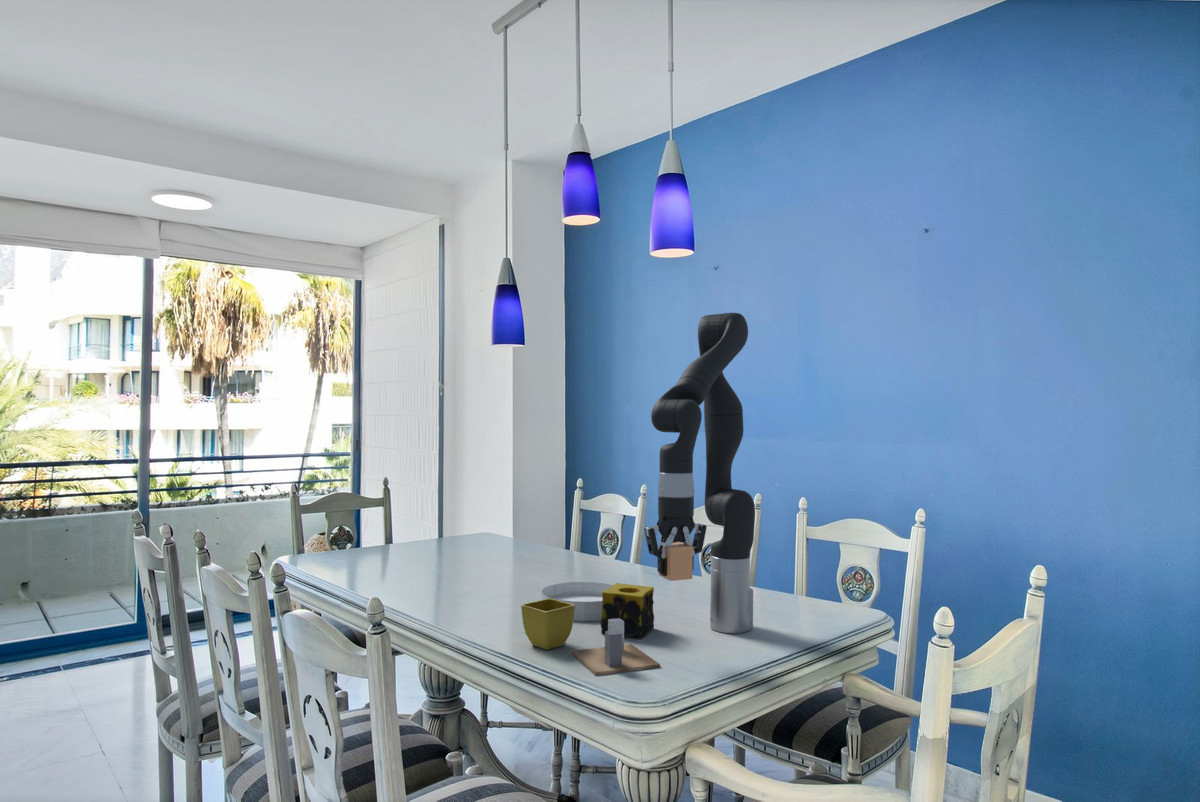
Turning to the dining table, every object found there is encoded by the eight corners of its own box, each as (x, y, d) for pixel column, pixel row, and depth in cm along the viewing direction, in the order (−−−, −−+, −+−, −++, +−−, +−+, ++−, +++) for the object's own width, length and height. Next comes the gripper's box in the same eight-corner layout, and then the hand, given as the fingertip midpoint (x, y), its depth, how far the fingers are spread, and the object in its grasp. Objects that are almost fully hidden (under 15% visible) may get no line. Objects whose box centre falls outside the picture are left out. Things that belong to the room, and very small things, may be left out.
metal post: (619, 648, 160) (619, 618, 160) (623, 651, 157) (624, 621, 158) (607, 649, 159) (608, 619, 159) (612, 653, 156) (612, 622, 157)
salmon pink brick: (680, 573, 160) (680, 542, 160) (692, 578, 155) (692, 546, 156) (658, 575, 158) (659, 543, 158) (670, 580, 154) (670, 547, 154)
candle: (615, 623, 181) (615, 582, 181) (654, 628, 177) (655, 586, 178) (599, 635, 172) (600, 591, 172) (641, 640, 168) (641, 595, 168)
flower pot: (519, 645, 163) (519, 604, 163) (549, 637, 169) (550, 597, 169) (545, 654, 157) (545, 611, 157) (575, 646, 163) (576, 604, 163)
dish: (617, 625, 181) (617, 604, 181) (529, 619, 185) (529, 598, 185) (631, 602, 202) (631, 584, 203) (553, 597, 207) (553, 579, 207)
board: (631, 646, 163) (631, 644, 163) (660, 667, 150) (660, 664, 150) (571, 653, 158) (571, 650, 158) (595, 675, 145) (595, 672, 145)
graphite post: (616, 661, 151) (616, 630, 151) (621, 665, 149) (621, 633, 149) (604, 663, 150) (605, 631, 150) (609, 667, 148) (609, 634, 148)
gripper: (697, 491, 163) (696, 568, 163) (637, 493, 158) (637, 573, 158) (714, 494, 156) (714, 575, 156) (653, 497, 151) (652, 581, 151)
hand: (675, 574), depth 157 cm, fingers closed on salmon pink brick, 5 cm apart
